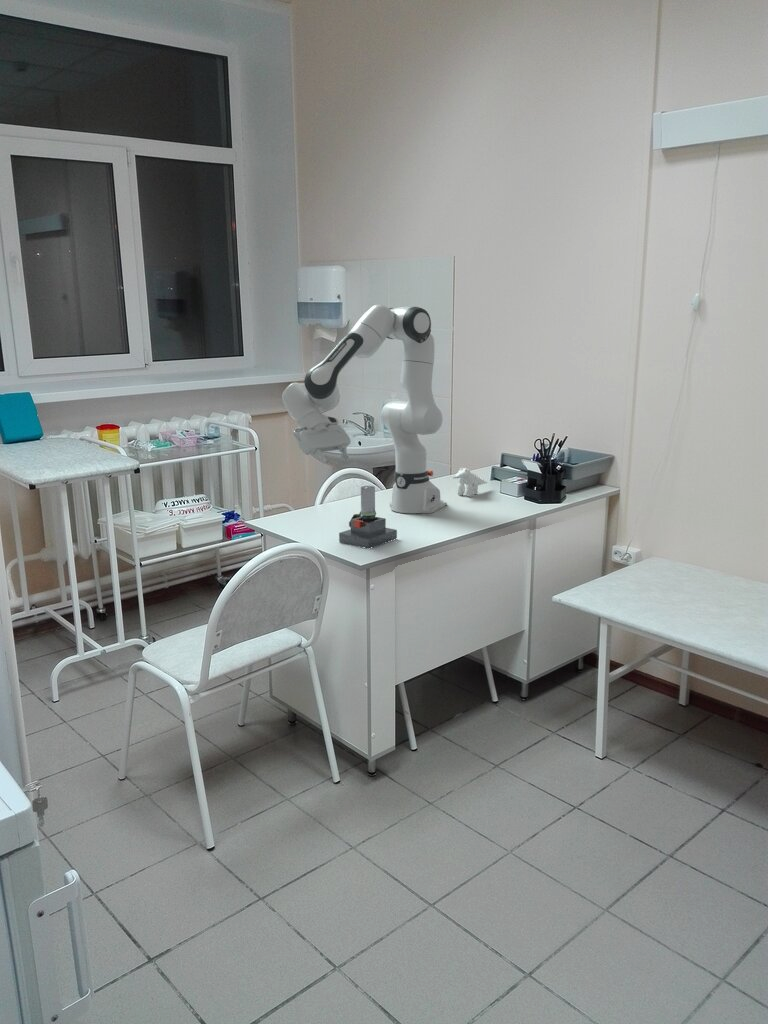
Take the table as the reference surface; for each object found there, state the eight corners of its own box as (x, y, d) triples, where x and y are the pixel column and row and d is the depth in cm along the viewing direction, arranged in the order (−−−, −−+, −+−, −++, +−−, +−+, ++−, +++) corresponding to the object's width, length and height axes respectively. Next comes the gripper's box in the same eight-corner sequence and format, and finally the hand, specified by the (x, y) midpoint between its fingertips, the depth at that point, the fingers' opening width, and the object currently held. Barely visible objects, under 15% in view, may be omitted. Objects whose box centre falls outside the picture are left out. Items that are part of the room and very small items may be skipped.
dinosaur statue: (444, 496, 313) (446, 467, 311) (479, 492, 331) (482, 465, 329) (459, 499, 309) (461, 470, 307) (493, 494, 327) (496, 467, 325)
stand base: (367, 532, 267) (367, 510, 265) (396, 538, 259) (396, 516, 258) (339, 542, 256) (338, 518, 254) (368, 548, 249) (368, 525, 247)
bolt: (350, 535, 270) (367, 523, 284) (363, 529, 268) (378, 517, 282) (342, 520, 270) (359, 508, 284) (354, 514, 268) (370, 502, 281)
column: (367, 527, 260) (366, 485, 257) (378, 530, 257) (378, 487, 254) (357, 531, 257) (357, 487, 253) (369, 533, 254) (368, 489, 250)
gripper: (296, 423, 254) (319, 458, 250) (340, 417, 269) (362, 450, 266) (286, 436, 257) (308, 470, 254) (330, 430, 273) (352, 462, 269)
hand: (336, 460), depth 260 cm, fingers open, 8 cm apart
